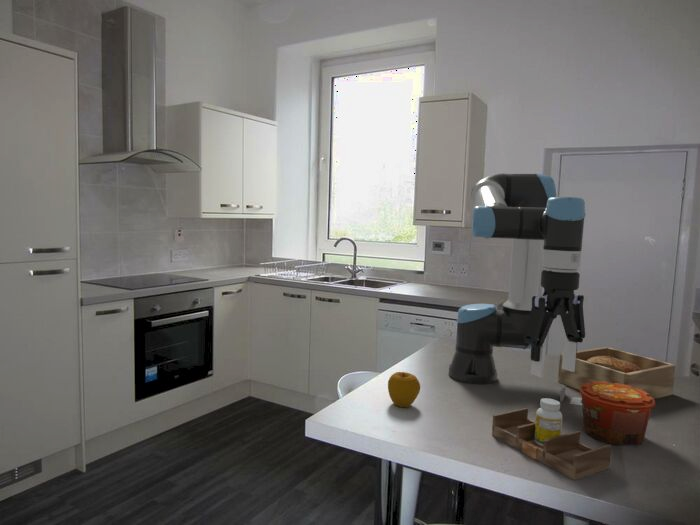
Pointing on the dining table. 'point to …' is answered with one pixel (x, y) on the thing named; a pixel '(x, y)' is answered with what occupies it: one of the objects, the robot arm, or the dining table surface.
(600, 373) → the bread crate
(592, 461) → the rack
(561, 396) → the bracket
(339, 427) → the dining table surface
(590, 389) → the food container
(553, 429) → the supplement bottle
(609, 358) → the bread
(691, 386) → the dining table surface
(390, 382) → the apple
